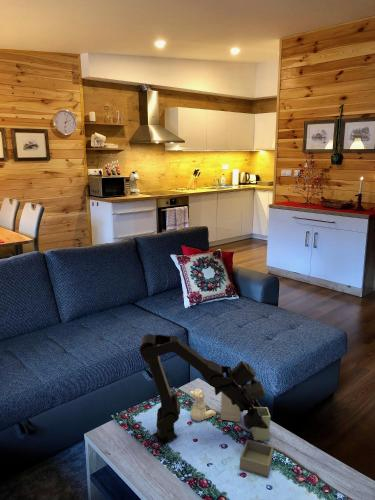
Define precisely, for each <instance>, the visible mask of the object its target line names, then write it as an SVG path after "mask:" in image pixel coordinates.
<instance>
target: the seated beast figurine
mask: <svg viewBox="0 0 375 500" xmlns="http://www.w3.org/2000/svg"><path fill="white" fill-rule="evenodd" d="M190 395H191V398H193V399H194V401H193V404H192V407H191V410H190V417H191V419H192V420H194V421H197V422H201V420H203V421H204V419H205V420H207V419H210V418H213V417H214V416H215V415H217V414H216V411H215V410H213V409H207V407H206V406H207V403H206V401H205V395H204V393H203V391H202V390H201V389H200V388H195V389H194V390H190ZM212 416H213V417H212ZM209 417H210V418H209Z"/></svg>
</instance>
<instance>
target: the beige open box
mask: <svg viewBox="0 0 375 500" xmlns="http://www.w3.org/2000/svg"><path fill="white" fill-rule="evenodd" d="M254 408H257V409H258V410H259V411H260V412H261V415H262V419H263V420H264V422H265V423H266V424H267V426H268V428H267V429H263V428H258V427H252V428H251V434H252V438H253V437H254V438H253V441H254V440H260V441H259V442H269V440H270V429H271V427H270V426H271V414H270V412H269V411H270V410H269V408H268V407H267V406H265V407H264V406H261V407H254Z"/></svg>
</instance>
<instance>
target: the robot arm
mask: <svg viewBox="0 0 375 500" xmlns="http://www.w3.org/2000/svg"><path fill="white" fill-rule="evenodd" d="M140 341H141V342H140V345H139V355H140V356H141V357H142V359H143V361H144V362H145V363H146V364H147V365H148V367H149V370H150V373H151V375H152V379H153V382H154V385H155V388H156V390H157V393H158V396H159V398H160V399H159V400H160V405H161V406H160V407H159V408H157V413H156V424H155V425H156V431H155V433H153V435H152V436H153V437H154V438H155V439H156V440H157V441H158V442H159V443H160V444H161V445H162V446H165V445H166V444H168V443H170V442H172V441H174V440H176V439H178V435H177V434H176V432H175V423H177V422H178V421H179V419H180V414H181V401H180V400H179V396H178V393H175V394H173V393H172V391H171V389H170V385H169V382H168V379H167V376H166V374H165V371H164V368H163V364H162V360H161V356H164V355H167V354H169V353H174V354H176V355H177V356H178V357H180V359H182V360H183V361H185V362H186V363H187V364H189V366H191V367H192V368H194V369H195V370H196V371H198V373H200V375H201V376H202V378H203V379H204V380H205V382H206V383H207V384H208V385H209V386H210V387H212V388H214V394H215V396H218V395H219V394H220V393H221V394H222V393H223V394H224V395H225V396H227V397H228V398H229V399H230V400H231V403H232V404H233V405H235V404H236V405H237V406H238V407H239V410H240V413H243V412H246V411H247V413H245V414H244V415H243V416H242V419H243V425H244V427H245V428H246V429H247V430H252V427H258V428H263V429H267V428H268V426H267V424H266V423H265V422H264V420H263V419H262V415H261V412H260V411H259V410H258V409H257V408H254V407H262V405H260V403H259V402H258V400H259V399H261V398H265V396H266V393H265V392H266V391H265V389H264V387H263V384H262V382H261V381H260V380H257V379H255V377H256V376H257V374H256V371H255V369H254V368H253V367H252V366H251V364H249V363H247V362H244V361H243V360H241V361H240V362H239V363H238V364H237V365H236V366H235V367H234V368H232V367H231V366H226V365H221V364H219V363H217V362H215V361H213V360H209V359H207V358H204V357H203V356H202V355H201V354H200V353H198V352H197V351H196V350H194V349H193V348H191V347H190V346H189V345H187V344H186V343H185V342H184V341H182V340H181V338H179V337H178V336H177V335H165V334H151V333H148V334H145V335H143V336H142V338H141V340H140ZM239 385H240V386H239Z"/></svg>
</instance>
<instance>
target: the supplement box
mask: <svg viewBox="0 0 375 500" xmlns="http://www.w3.org/2000/svg"><path fill="white" fill-rule="evenodd" d="M239 386H240V385H239ZM220 400H221V401H220V403H221V404H220V420H222V421H230V422H240V421H241V419H240V417H241V412H240V410H239V407H238V406H237V405H236V404H235V405H233V404H232V403H231V400H230V399H229V398H228V397H227V396H225V395H224V394H223V393H222V392H221V399H220Z"/></svg>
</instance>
